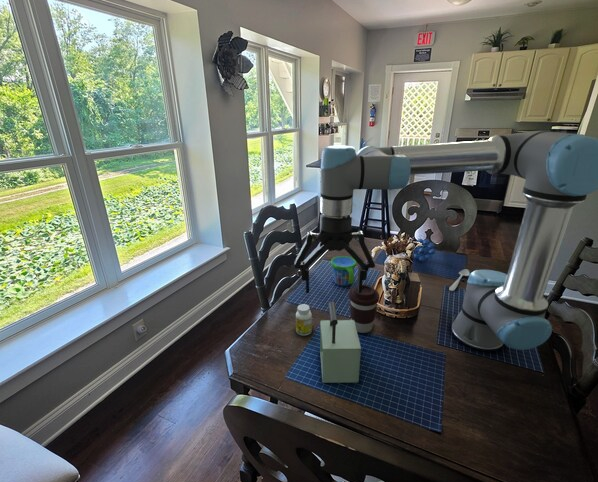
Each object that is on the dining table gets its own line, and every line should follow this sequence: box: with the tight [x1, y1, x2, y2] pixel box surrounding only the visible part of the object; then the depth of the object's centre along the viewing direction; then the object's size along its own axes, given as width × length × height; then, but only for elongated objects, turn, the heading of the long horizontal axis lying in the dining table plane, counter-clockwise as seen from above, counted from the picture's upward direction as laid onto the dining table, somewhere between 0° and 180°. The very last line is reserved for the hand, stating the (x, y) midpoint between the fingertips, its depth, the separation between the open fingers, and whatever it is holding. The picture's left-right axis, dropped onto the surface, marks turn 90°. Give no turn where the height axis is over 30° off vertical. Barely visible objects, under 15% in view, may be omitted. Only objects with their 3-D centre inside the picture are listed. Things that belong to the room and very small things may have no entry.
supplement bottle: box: [295, 303, 313, 337], centre depth 107 cm, size 5×5×10 cm
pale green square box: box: [319, 301, 362, 384], centre depth 91 cm, size 20×12×10 cm
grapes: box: [413, 238, 436, 262], centre depth 154 cm, size 12×7×12 cm, turn 46°
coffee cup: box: [348, 284, 380, 334], centre depth 108 cm, size 10×10×15 cm
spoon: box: [448, 268, 471, 292], centre depth 138 cm, size 4×21×2 cm, turn 138°
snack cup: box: [330, 255, 358, 287], centre depth 137 cm, size 16×10×10 cm
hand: (333, 290), depth 84 cm, fingers open, 13 cm apart
